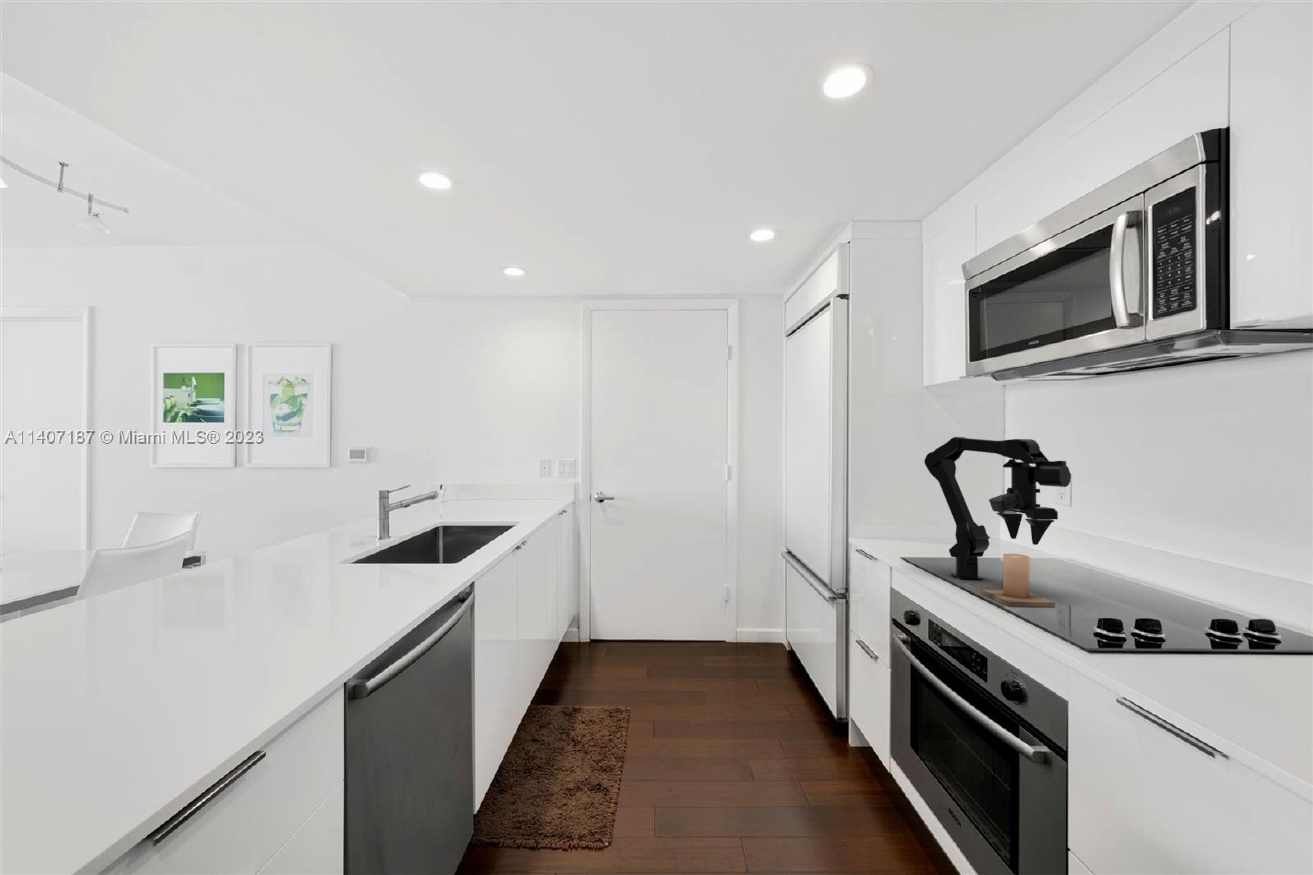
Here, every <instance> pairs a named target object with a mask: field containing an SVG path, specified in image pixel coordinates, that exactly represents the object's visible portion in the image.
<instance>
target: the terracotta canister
mask: <svg viewBox="0 0 1313 875" xmlns="http://www.w3.org/2000/svg"><path fill="white" fill-rule="evenodd" d="M1002 558H1003V561H1002V562H1003V564H1002V566H1003V567H1002V569H1003V570H1002V571H1003V572H1002V575H1003V576H1002V577H1003V578H1002V584H1003V585H1002V589H1003V594H1004V595H1006V596H1009V597H1014V598H1029V592H1030V571H1031V570H1030V556H1029V555H1025V554H1018V553H1003V557H1002Z"/></svg>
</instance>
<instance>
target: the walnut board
mask: <svg viewBox="0 0 1313 875" xmlns="http://www.w3.org/2000/svg"><path fill="white" fill-rule="evenodd" d="M980 594H981V595H983V596H985V597H988V598H990V599H992V600H994V601H995V602H998V603H1000V604H1003V605H1005V606H1007V607H1008V608H1012V607H1013V608H1056V602H1055V601H1054V600H1050V599H1048V598H1045V597H1042V596H1040V595H1038V594H1035V593H1033V592H1030V591H1029V598H1014V597H1009V596H1006V595H1004V594H1003V588H999V589H998V588H997V589H996V588H981V589H980Z"/></svg>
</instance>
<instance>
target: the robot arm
mask: <svg viewBox="0 0 1313 875" xmlns="http://www.w3.org/2000/svg"><path fill="white" fill-rule="evenodd" d="M965 451H968V452H978V453H989V454H996V455H999V456H1002V457H1004V458H1008V461H1006V462H1005V463H1004V464H1003V465H1002V467H1003V468H1007V469H1008V468H1011V470H1010V471H1011V472H1010V473H1011V474H1010V475H1011V480H1010V481H1011V482H1010V483H1011V486H1010V487H1007V489H1006V493H1003V494H1000V495H997V496H994V497H991V498H989V499H988V502H989V504H990V506H991V509H992V511H993V512H996V515H997V516H999V517H1001V518H1002V519H1003V520H1004V522H1005V525H1006V528H1007V530H1008V533H1009V537H1010V539H1012V540H1016V538H1017V536H1018V533H1019V530H1020V526H1021V522H1022V518H1023V514H1024V515H1025V516H1026V518H1024V519H1025V521H1026V522H1027V523H1028V524H1029V526H1030V535H1031V542H1032V545H1034V546H1036V545H1038V544H1039V543H1040V542H1041V540H1042V538H1043V536H1044V535H1045V533H1046V531H1047V530H1048V528H1049V527H1050V526H1051V524H1052V523H1054V522H1055V520H1058V519H1059V512H1058V510H1056V509H1055V508H1053V507H1048V506H1041V504H1040V503H1037V494H1040V493H1041V488H1037V483H1038V485H1040V486H1042V487H1044V486H1045V487H1058V488H1060V487H1061V488H1062V487H1063V488H1066V487H1068V486H1069V485H1070V483H1071V481H1072V480H1071V479H1072V473H1071V471H1070V468H1069V467H1068V466H1067V460H1054V461H1052V460H1049V459H1048V458H1047V457H1046V456H1045V454H1044V453H1043V451H1042V450H1041V449H1040V445H1039V443H1038V442H1037V441H1036V440H1034V439H1030V438H1012V439H1004V440H995V439H994V440H992V439H983V438H981V439H979V438H969V437H964V436H954V437H952V438H950V439H949V440H948V441H946V442H945V443H944V444H942V445H940V446H939V447H937V448H935V449H934V450H933V451H930V452H929V453H927V454H926V456H925V458H924V461H923V462H924V465H925V467H926V469H927V471H928V472H929V474H930V475H931V476H932V477H933V478H934V479H935V480H937V482H938V483H939V486H940V488H941V491H942V493H943V494H942V495H943V496H944V499H945V500H946V501H945V502H946V504H947V505H948V509H949V511H950V513H951V515H952V518H953V521H954V523H955V541H956V543H955V544H953V546H951V547H950V548H949V549H948V552H949V554H950V557H951V558H955V572H950V575H951V576H953V577H954V578H955V577H956V578H957V579H960V580H968V581H969V580H970V581H971V580H978V581H979V580H981V581H983V580H984V577H982V576H979V559H978V558H982V557H984V553H985V552H986V551H987V550H988V548H989V546H990V541H989V539H991V537H990V536H989V535H988V533H987V529H986V527H985V525H984V524H983V525H978V523H976V522H975V521H974V518H973V516H972V514H971V511H970V509H969V506H968V505H967V502H966V500H965V497H964V495H963V492H962V490H961V488H960V486H959V483H958V481H957V478H956V471H957V465H956V462H957V461H958V460H959V459H960V458H961V456H962V455H963V453H964V452H965ZM1031 464H1032V465H1031Z"/></svg>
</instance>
